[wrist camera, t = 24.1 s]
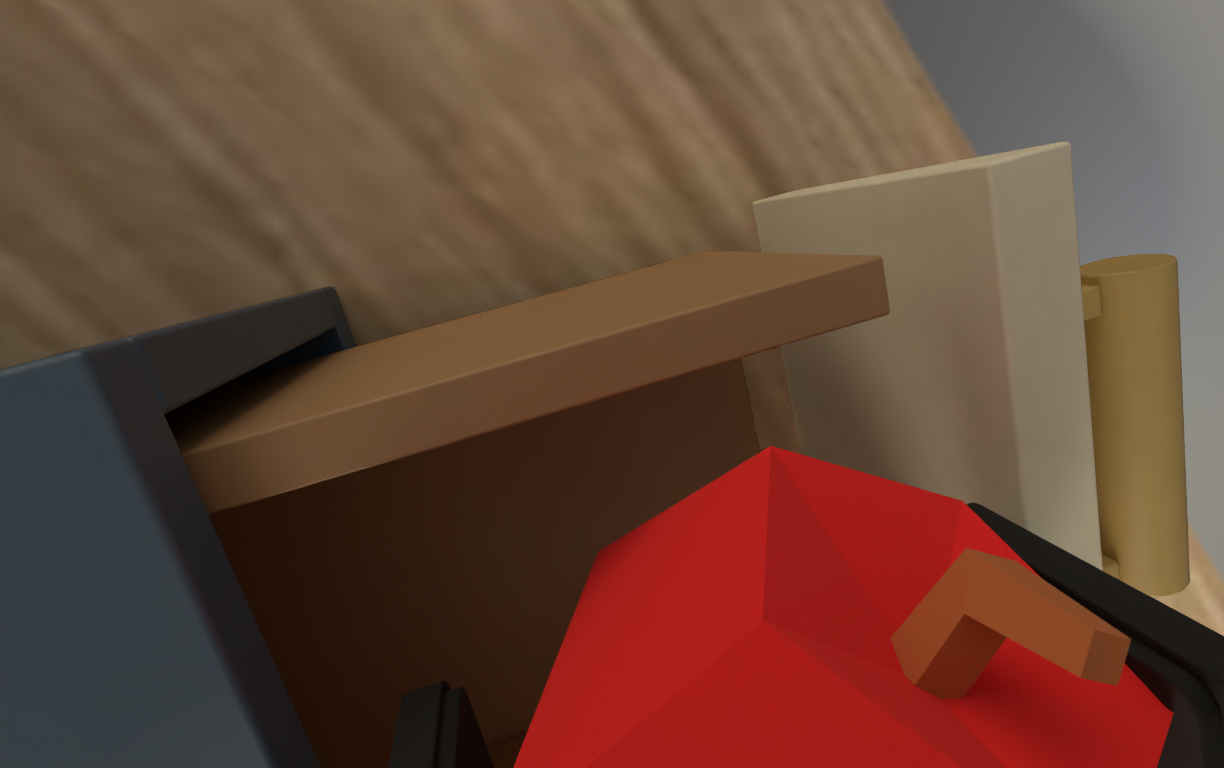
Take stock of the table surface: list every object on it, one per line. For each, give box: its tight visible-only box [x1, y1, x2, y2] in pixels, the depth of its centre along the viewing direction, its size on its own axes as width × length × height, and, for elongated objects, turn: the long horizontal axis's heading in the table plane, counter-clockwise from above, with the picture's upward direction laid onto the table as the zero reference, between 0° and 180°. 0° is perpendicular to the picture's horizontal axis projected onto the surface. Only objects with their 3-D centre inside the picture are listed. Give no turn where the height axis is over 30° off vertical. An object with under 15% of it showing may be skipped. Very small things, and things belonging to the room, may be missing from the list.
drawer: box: [164, 142, 1190, 768], centre depth 13 cm, size 21×13×8 cm, turn 105°
